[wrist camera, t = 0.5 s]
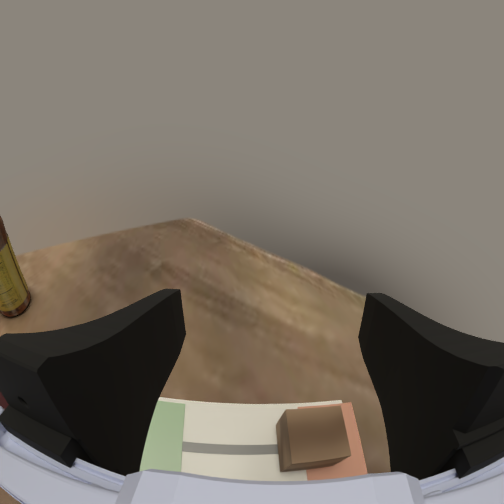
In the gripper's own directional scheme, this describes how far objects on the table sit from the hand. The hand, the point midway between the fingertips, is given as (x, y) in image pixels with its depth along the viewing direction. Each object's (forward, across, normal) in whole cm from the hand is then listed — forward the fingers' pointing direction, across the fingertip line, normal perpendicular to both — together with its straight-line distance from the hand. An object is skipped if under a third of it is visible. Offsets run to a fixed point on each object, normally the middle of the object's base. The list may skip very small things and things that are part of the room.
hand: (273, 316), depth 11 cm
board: (+5, +4, +18) cm, 19 cm away
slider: (+6, -3, +18) cm, 19 cm away
